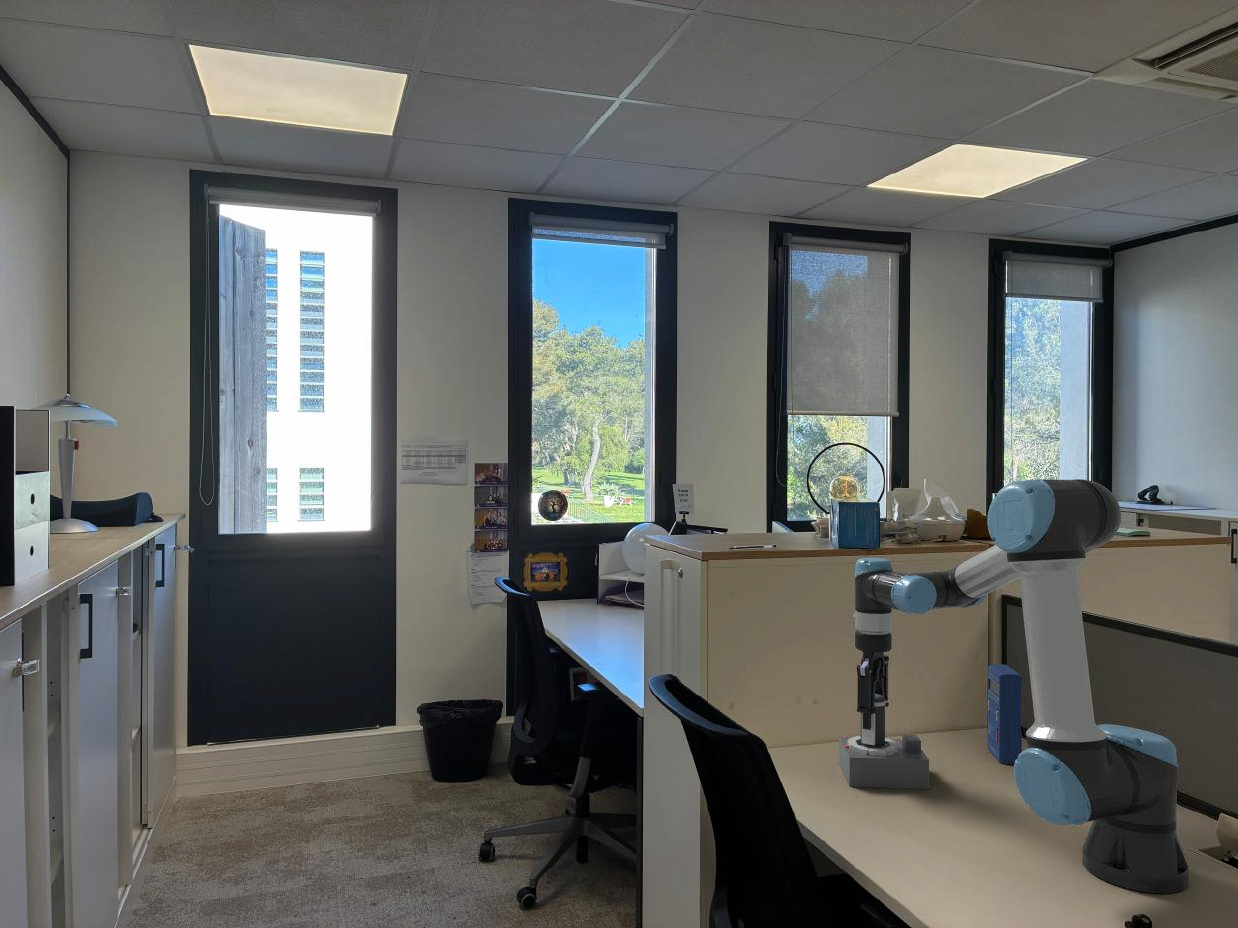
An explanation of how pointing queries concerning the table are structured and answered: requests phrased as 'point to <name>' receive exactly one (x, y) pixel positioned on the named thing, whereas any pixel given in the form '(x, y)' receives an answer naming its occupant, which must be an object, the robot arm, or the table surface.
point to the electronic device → (1004, 713)
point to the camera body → (884, 763)
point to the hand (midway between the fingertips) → (872, 739)
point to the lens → (878, 721)
